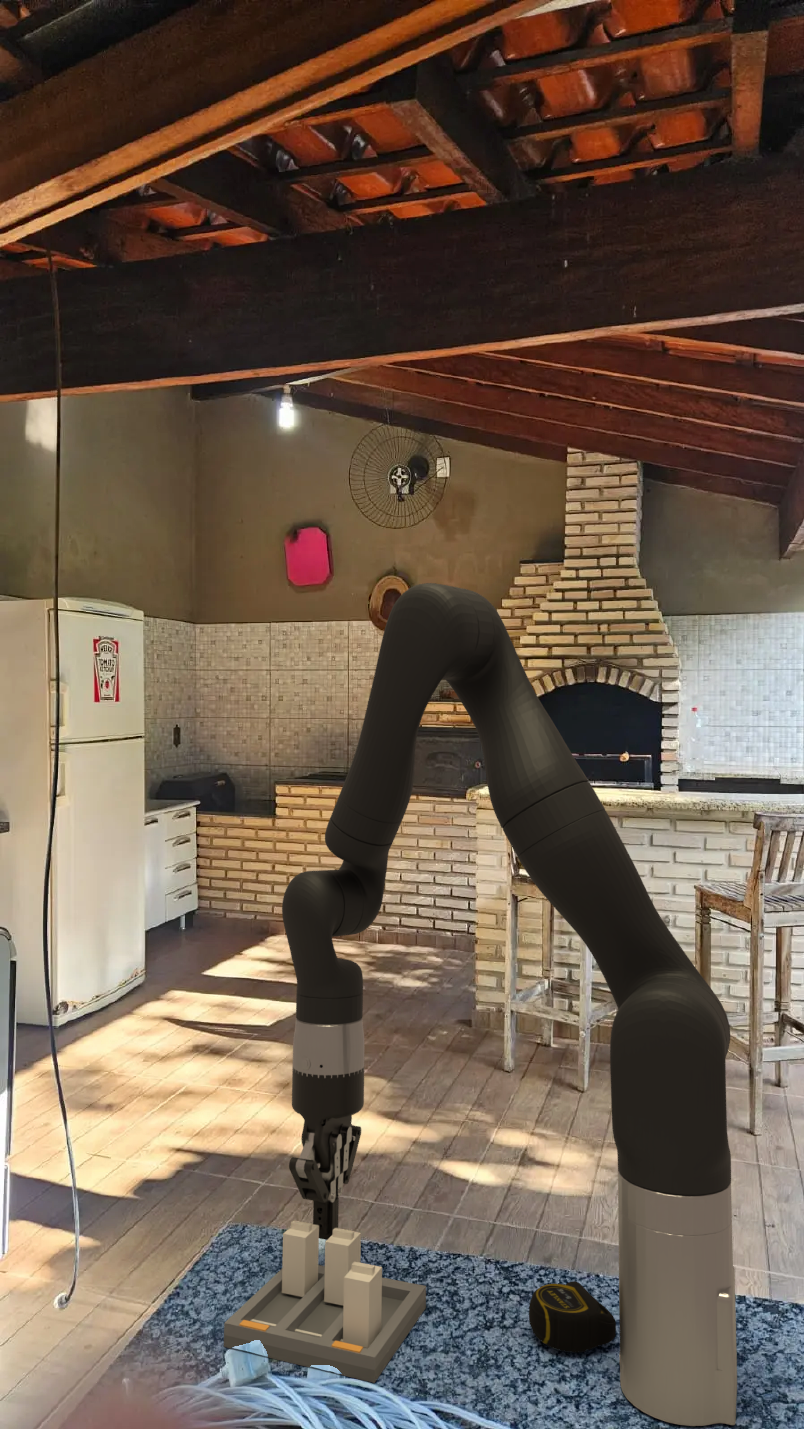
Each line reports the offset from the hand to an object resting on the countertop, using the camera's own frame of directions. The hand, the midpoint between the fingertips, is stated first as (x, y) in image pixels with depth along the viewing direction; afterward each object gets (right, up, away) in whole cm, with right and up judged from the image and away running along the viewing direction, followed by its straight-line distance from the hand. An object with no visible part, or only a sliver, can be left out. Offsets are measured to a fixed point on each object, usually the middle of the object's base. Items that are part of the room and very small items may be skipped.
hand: (325, 1235), depth 98 cm
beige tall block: (+4, -1, -14) cm, 15 cm away
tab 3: (-2, -2, -5) cm, 6 cm away
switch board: (+1, -3, -10) cm, 10 cm away
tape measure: (+23, -4, -11) cm, 26 cm away
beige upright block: (+2, -2, -7) cm, 8 cm away
